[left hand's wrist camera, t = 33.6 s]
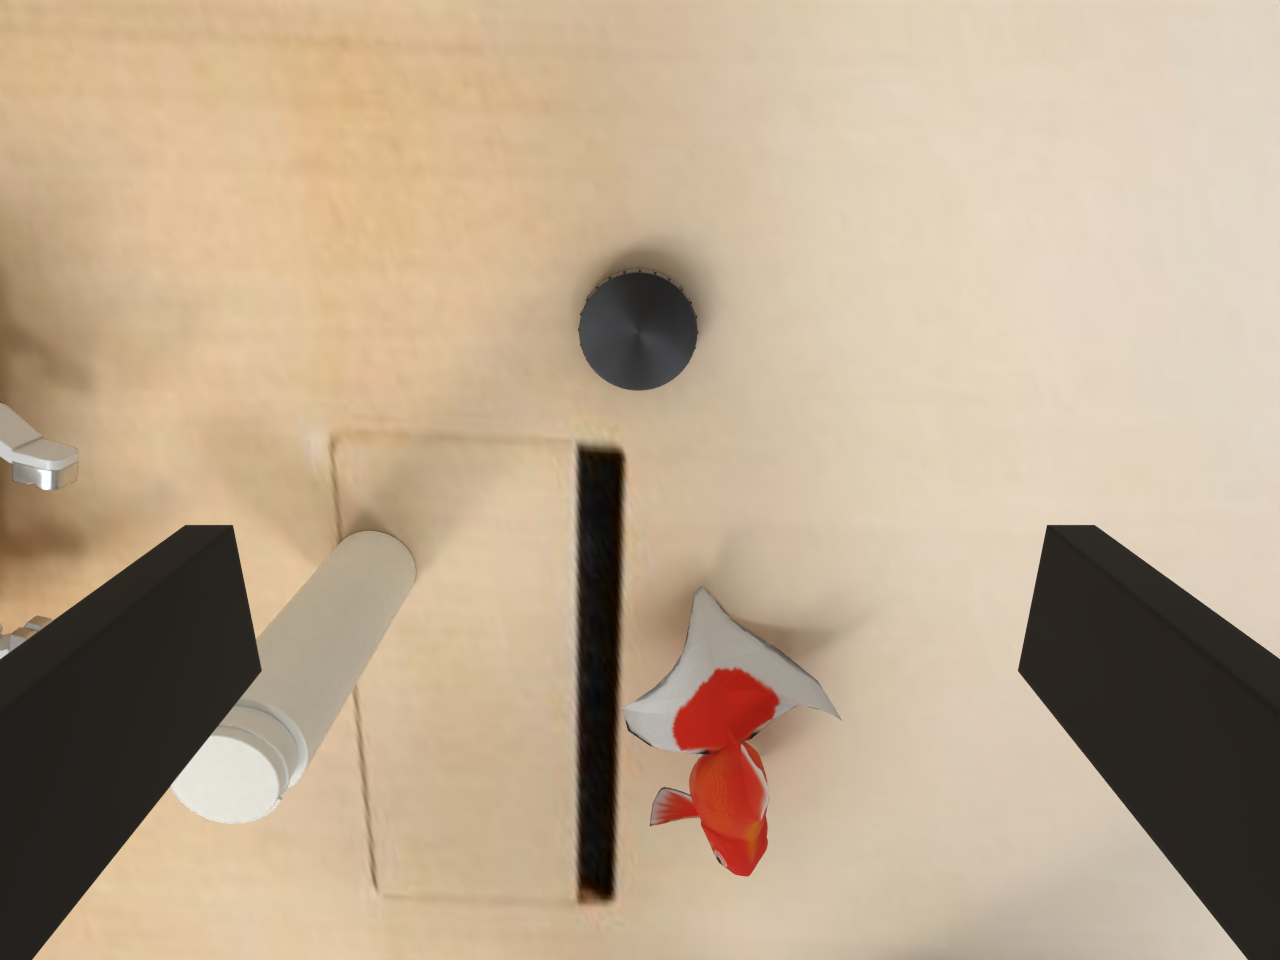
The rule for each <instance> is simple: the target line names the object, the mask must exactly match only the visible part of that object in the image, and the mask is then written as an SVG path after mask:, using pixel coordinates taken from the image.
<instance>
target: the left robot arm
mask: <svg viewBox="0 0 1280 960" xmlns="http://www.w3.org/2000/svg"><path fill="white" fill-rule="evenodd" d="M261 672H262V668H261V663H260V658H259V653H258V648H257V643H256V638H255V633H254V628H253V623H252V618H251V613H250V608H249V603H248V598H247V593H246V588H245V583H244V579H243V574H242V569H241V564H240V559H239V554H238V549H237V544H236V539H235V534H234V529H233V525H185V526H184V527H182V528H181V529H179V530H178V531H177V532H175V533H174V534H172V535H171V536H170V537H168V538H167V539H166V540H164V541H163V542H161V543H160V544H159V545H157V546H156V547H154V548H153V549H152V550H150V551H149V552H148V553H146V554H145V555H143V556H142V557H141V558H139V559H138V560H137V561H135V562H134V563H132V564H131V565H130V566H128V567H127V568H125V569H124V570H123V571H121V572H120V573H119V574H117V575H116V576H114V577H113V578H112V579H110V580H109V581H107V582H106V583H105V584H103V585H102V586H101V587H99V588H98V589H96V590H95V591H94V592H92V593H91V594H90V595H88V596H87V597H85V598H84V599H83V600H81V601H80V602H78V603H77V604H76V605H74V606H73V607H72V608H70V609H69V610H67V611H66V612H65V613H63V614H62V615H60V616H59V617H58V618H56V619H55V620H54V621H52V622H51V623H49V624H48V625H47V626H45V627H44V628H43V629H41V630H40V631H38V632H37V633H36V634H34V635H33V636H31V637H30V638H29V639H27V640H26V641H25V642H23V643H22V644H20V645H19V646H18V647H16V648H15V649H13V650H12V651H11V652H9V653H8V654H7V655H5V656H4V657H2V658H1V659H0V960H32V959H33V958H34V957H35V955H36V954H37V953H38V952H39V950H40V949H41V948H42V947H43V945H44V944H45V943H46V942H47V940H48V939H49V938H50V936H51V935H52V934H53V933H54V931H55V930H56V929H57V928H58V926H59V925H60V924H61V923H62V921H63V920H64V919H65V918H66V916H67V915H68V914H69V913H70V911H71V910H72V909H73V908H74V906H75V905H76V904H77V903H78V901H79V900H80V899H81V898H82V896H83V895H84V894H85V893H86V891H87V890H88V889H89V888H90V886H91V885H92V884H93V883H94V881H95V880H96V879H97V877H98V876H99V875H100V874H101V872H102V871H103V870H104V869H105V867H106V866H107V865H108V864H109V862H110V861H111V860H112V859H113V857H114V856H115V855H116V854H117V852H118V851H119V850H120V849H121V847H122V846H123V845H124V844H125V842H126V841H127V840H128V839H129V837H130V836H131V835H132V834H133V832H134V831H135V830H136V829H137V827H138V826H139V825H140V823H141V822H142V821H143V820H144V818H145V817H146V816H147V815H148V813H149V812H150V811H151V810H152V808H153V807H154V806H155V805H156V803H157V802H158V801H159V800H160V798H161V797H162V796H163V795H164V793H165V792H166V791H167V790H168V788H169V787H170V786H171V785H172V783H173V782H174V781H175V780H176V778H177V777H178V776H179V775H180V773H181V772H182V771H183V769H184V768H185V767H186V766H187V764H188V763H189V762H190V761H191V759H192V758H193V757H194V756H195V754H196V753H197V752H198V751H199V749H200V748H201V747H202V746H203V744H204V743H205V742H206V741H207V739H208V738H209V737H210V736H211V734H212V733H213V732H214V731H215V729H216V728H217V727H218V726H219V724H220V723H221V722H222V721H223V719H224V718H225V717H226V715H227V714H228V713H229V712H230V710H231V709H232V708H233V707H234V705H235V704H236V703H237V702H238V700H239V699H240V698H241V697H242V695H243V694H244V693H245V692H246V690H247V689H248V688H249V687H250V685H251V684H252V683H253V682H254V680H255V679H256V678H257V677H258V675H259V674H260V673H261ZM1018 672H1019V673H1020V674H1021V675H1022V677H1023V678H1024V679H1025V680H1026V682H1027V683H1028V684H1029V685H1030V687H1031V688H1032V689H1033V690H1034V692H1035V693H1036V694H1037V695H1038V697H1039V698H1040V699H1041V700H1042V702H1043V703H1044V704H1045V705H1046V707H1047V708H1048V709H1049V710H1050V712H1051V713H1052V714H1053V715H1054V717H1055V718H1056V719H1057V721H1058V722H1059V723H1060V724H1061V726H1062V727H1063V728H1064V729H1065V731H1066V732H1067V733H1068V734H1069V736H1070V737H1071V738H1072V739H1073V741H1074V742H1075V743H1076V744H1077V746H1078V747H1079V748H1080V749H1081V751H1082V752H1083V753H1084V754H1085V756H1086V757H1087V758H1088V759H1089V761H1090V762H1091V763H1092V764H1093V766H1094V767H1095V768H1096V769H1097V771H1098V772H1099V773H1100V775H1101V776H1102V777H1103V778H1104V780H1105V781H1106V782H1107V783H1108V785H1109V786H1110V787H1111V788H1112V790H1113V791H1114V792H1115V793H1116V795H1117V796H1118V797H1119V798H1120V800H1121V801H1122V802H1123V803H1124V805H1125V806H1126V807H1127V808H1128V810H1129V811H1130V812H1131V813H1132V815H1133V816H1134V817H1135V818H1136V820H1137V821H1138V822H1139V823H1140V825H1141V826H1142V827H1143V829H1144V830H1145V831H1146V832H1147V834H1148V835H1149V836H1150V837H1151V839H1152V840H1153V841H1154V842H1155V844H1156V845H1157V846H1158V847H1159V849H1160V850H1161V851H1162V852H1163V854H1164V855H1165V856H1166V857H1167V859H1168V860H1169V861H1170V862H1171V864H1172V865H1173V866H1174V867H1175V869H1176V870H1177V871H1178V872H1179V874H1180V875H1181V876H1182V877H1183V879H1184V880H1185V881H1186V883H1187V884H1188V885H1189V886H1190V888H1191V889H1192V890H1193V891H1194V893H1195V894H1196V895H1197V896H1198V898H1199V899H1200V900H1201V901H1202V903H1203V904H1204V905H1205V906H1206V908H1207V909H1208V910H1209V911H1210V913H1211V914H1212V915H1213V916H1214V918H1215V919H1216V920H1217V921H1218V923H1219V924H1220V925H1221V926H1222V928H1223V929H1224V930H1225V931H1226V933H1227V934H1228V935H1229V936H1230V938H1231V939H1232V940H1233V942H1234V943H1235V944H1236V945H1237V947H1238V948H1239V949H1240V950H1241V952H1242V953H1243V954H1244V955H1245V957H1246V958H1247V959H1248V960H1280V659H1279V658H1278V657H1276V656H1275V655H1273V654H1272V653H1271V652H1269V651H1268V650H1267V649H1265V648H1264V647H1262V646H1261V645H1260V644H1258V643H1257V642H1255V641H1254V640H1253V639H1251V638H1250V637H1249V636H1247V635H1246V634H1244V633H1243V632H1242V631H1240V630H1239V629H1237V628H1236V627H1235V626H1233V625H1232V624H1231V623H1229V622H1228V621H1226V620H1225V619H1224V618H1222V617H1221V616H1220V615H1218V614H1217V613H1215V612H1214V611H1213V610H1211V609H1210V608H1208V607H1207V606H1206V605H1204V604H1203V603H1202V602H1200V601H1199V600H1197V599H1196V598H1195V597H1193V596H1192V595H1190V594H1189V593H1188V592H1186V591H1185V590H1184V589H1182V588H1181V587H1179V586H1178V585H1177V584H1175V583H1174V582H1173V581H1171V580H1170V579H1168V578H1167V577H1166V576H1164V575H1163V574H1161V573H1160V572H1159V571H1157V570H1156V569H1155V568H1153V567H1152V566H1150V565H1149V564H1148V563H1146V562H1145V561H1143V560H1142V559H1141V558H1139V557H1138V556H1137V555H1135V554H1134V553H1132V552H1131V551H1130V550H1128V549H1127V548H1126V547H1124V546H1123V545H1121V544H1120V543H1119V542H1117V541H1116V540H1114V539H1113V538H1112V537H1110V536H1109V535H1108V534H1106V533H1105V532H1103V531H1102V530H1101V529H1099V528H1098V527H1096V526H1095V525H1047V529H1046V534H1045V539H1044V544H1043V549H1042V554H1041V559H1040V564H1039V569H1038V574H1037V578H1036V583H1035V588H1034V593H1033V598H1032V603H1031V608H1030V613H1029V618H1028V623H1027V628H1026V633H1025V638H1024V643H1023V648H1022V653H1021V658H1020V663H1019V668H1018Z"/></svg>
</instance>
